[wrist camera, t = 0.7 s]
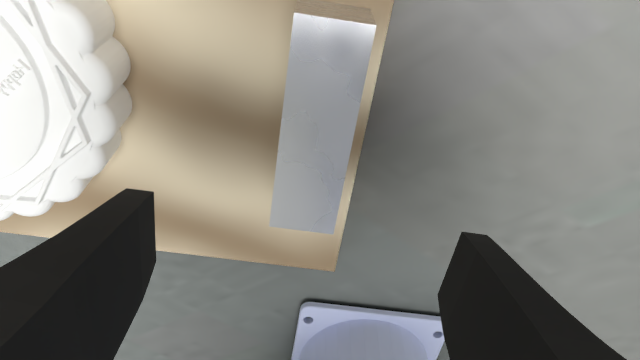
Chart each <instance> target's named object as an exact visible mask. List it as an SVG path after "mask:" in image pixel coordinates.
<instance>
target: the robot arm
mask: <svg viewBox="0 0 640 360" xmlns="http://www.w3.org/2000/svg"><path fill="white" fill-rule="evenodd" d="M155 263H156V241H155V211H154V192H152V191H145V190H137V189H129V188H126V189H125V190H123V191H121V192H120V193H118V194H117V195H115V196H114V197H112V198H111V199H109V200H108V201H106V202H105V203H103V204H102V205H100V206H99V207H98V208H96V209H95V210H93V211H92V212H90V213H89V214H87V215H86V216H84V217H83V218H81V219H80V220H78V221H77V222H75V223H73V224H72V225H70V226H69V227H67V228H66V229H64V230H63V231H61V232H60V233H58V234H57V235H55V236H53V237H52V238H50V239H48V240H47V241H45V242H43V243H42V244H40V245H38V246H36V247H35V248H33V249H31V250H30V251H28V252H26V253H25V254H23V255H21V256H19V257H18V258H16V259H14V260H13V261H11V262H9V263H7V264H5V265H4V266H2V267H0V360H113V359H114V357H115V355H116V353H117V351H118V349H119V347H120V345H121V343H122V341H123V339H124V337H125V335H126V333H127V331H128V329H129V327H130V325H131V323H132V321H133V319H134V317H135V315H136V313H137V311H138V309H139V307H140V304H141V302H142V300H143V298H144V295H145V292H146V289H147V287H148V284H149V281H150V278H151V275H152V272H153V269H154V266H155ZM438 300H439V309H440V316H441V317H440V316H431V315H422V314H413V313H405V312H396V311H387V310H378V309H370V308H361V307H352V306H343V305H335V304H326V303H317V302H306V303H303V304H302V305H301V307H300V312H299V318H298V323H297V329H296V335H295V340H294V346H293V351H292V357H291V360H436V359H437V357H438V355H439V352H440V350H441V348H442V345H443V343H444V340H445V342H446V346H447V350H448V353H449V357H450V360H626V359H625V358H624V357H622V356H621V355H620V354H618V353H617V352H616V351H614V350H613V349H612V348H610V347H609V346H608V345H607V344H605V343H604V342H603V341H602V340H601V339H599V338H598V337H597V336H596V335H594V334H593V333H592V332H591V331H590V330H589V329H587V328H586V327H585V326H584V325H583V324H582V323H580V322H579V321H578V320H577V319H576V318H575V317H574V316H572V315H571V314H570V313H569V312H568V311H567V310H566V309H565V308H563V307H562V306H561V305H560V304H559V303H558V302H557V301H556V300H555V299H554V298H553V297H551V296H550V295H549V294H548V293H547V292H546V291H545V290H544V289H543V288H542V287H541V286H540V285H539V284H538V283H537V282H536V281H535V280H534V279H533V278H532V277H531V276H530V275H528V274H527V273H526V272H525V271H524V270H523V269H522V268H521V267H520V266H519V265H518V264H517V263H516V262H515V261H514V260H513V259H512V258H511V257H510V256H509V255H508V254H507V253H506V252H505V251H504V250H503V249H502V248H501V247H500V246H499V245H498V244H496V243H495V242H494V241H493V240H492V239H491V238H490V237H488V236H487V235H482V234H475V233H467V232H462V233H461V235H460V238H459V241H458V243H457V246H456V248H455V251H454V254H453V256H452V259H451V261H450V264H449V267H448V269H447V272H446V274H445V277H444V280H443V282H442V285H441V287H440V290H439V293H438ZM306 317H311V318H306ZM437 331H439V332H437Z"/></svg>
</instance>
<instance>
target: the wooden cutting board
mask: <svg viewBox="0 0 640 360" xmlns="http://www.w3.org/2000/svg"><path fill="white" fill-rule="evenodd" d="M106 1H107V2H108V4H109V5H110V7H111V9H112V11H113V14H114V18H115V29H114V33H113V35H112V36H113V37H114V38H115V39H117V40H118V41H119V42H120V43H121V44H122V45H123V47H124V48H125V50H126V51H127V53H128V55H129V59H130V64H131V68H130V73H129V76H128V78H127V79H126V80H125V82H124V83H123V85H124V86H125V87H126V89H127V90H128V92H129V94H130V96H131V99H132V110H131V113H130V115H129V117H128V118H127V119H126V121H125V122H124V123H123V125H122V126H121V127H120V131H121V143H120V146H119V147H118V149H117V150H116V152H115V153H114V154H113V156H112V157H111V159H110V160H109V161H108V163H107V164H106V166H105V167H104V168H103V170H102V171H101V172H100V173H99V174H97V175H95V176H93V178H92V179H91V181H90V182H89V183H88V185H87V186H86V187H85V189H84V190H83V192H82V193H81V194H80V195H79V196H78V197H77V198H75V199H73V200H71V201H68V202H55V203H54V205H53V206H52V207H51V208H50V209H49V210H48V211H47V212H46V213H44V214H42V215H39V216H32V217H29V216H22V215H18V214H16V213H14V214H13V215H11V216H10V217H9V218H7V219H4V220H1V221H0V232H6V233H15V234H23V235H31V236H40V237H48V238H52V237H53V236H55V235H57V234H58V233H60V232H61V231H63V230H64V229H66V228H67V227H69V226H70V225H72V224H73V223H75V222H77V221H78V220H80V219H81V218H83V217H84V216H86V215H87V214H89V213H90V212H92V211H93V210H95V209H96V208H98V207H99V206H100V205H102V204H103V203H105V202H106V201H108V200H109V199H111V198H112V197H114V196H115V195H117V194H118V193H120V192H121V191H123V190H125V189H126V188H129V189H137V190H145V191H152V192H154V211H155V241H156V250H157V251H166V252H174V253H183V254H191V255H199V256H208V257H216V258H225V259H233V260H241V261H250V262H258V263H266V264H275V265H283V266H292V267H300V268H308V269H317V270H325V271H334V272H335V267H336V263H337V258H338V254H339V249H340V244H341V240H342V235H343V231H344V226H345V222H346V217H347V212H348V208H349V203H350V199H351V194H352V190H353V185H354V181H355V176H356V171H357V167H358V162H359V158H360V153H361V149H362V144H363V139H364V135H365V130H366V126H367V121H368V117H369V112H370V108H371V103H372V98H373V94H374V89H375V85H376V80H377V76H378V71H379V66H380V62H381V57H382V53H383V48H384V44H385V39H386V35H387V30H388V25H389V21H390V16H391V12H392V7H393V3H394V0H106Z"/></svg>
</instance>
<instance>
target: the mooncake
mask: <svg viewBox="0 0 640 360" xmlns="http://www.w3.org/2000/svg"><path fill="white" fill-rule="evenodd" d="M114 29H115V18H114V14H113V11H112V9H111V7H110V5H109V4H108V2H107V1H106V0H0V221H1V220H4V219H7V218H9V217H10V216H11V215H13V214H14V213H16V214H18V215H22V216H29V217H32V216H39V215H42V214H44V213H46V212H47V211H48V210H49V209H50V208H51V207H52V206H53V205H54V203H55V202H68V201H71V200H73V199H75V198H77V197H78V196H79V195H80V194H81V193H82V192H83V190H84V189H85V187H86V186H87V185H88V183H89V182H90V181H91V179H92V178H93V176H95V175H97V174H99V173H100V172H101V171H102V170H103V168H104V167H105V166H106V164H107V163H108V161H109V160H110V159H111V157H112V156H113V154H114V153H115V152H116V150H117V149H118V147H119V146H120V143H121V131H120V127H121V126H122V125H123V123H124V122H125V121H126V119H127V118H128V117H129V115H130V113H131V110H132V99H131V96H130V94H129V92H128V90H127V89H126V87H125V86H124V85H123V83H124V82H125V80H126V79H127V78H128V76H129V73H130V68H131V64H130V59H129V55H128V53H127V51H126V50H125V48H124V47H123V45H122V44H121V43H120V42H119V41H118V40H117V39H115V38H114V37H113V36H112V35H113V33H114Z"/></svg>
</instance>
